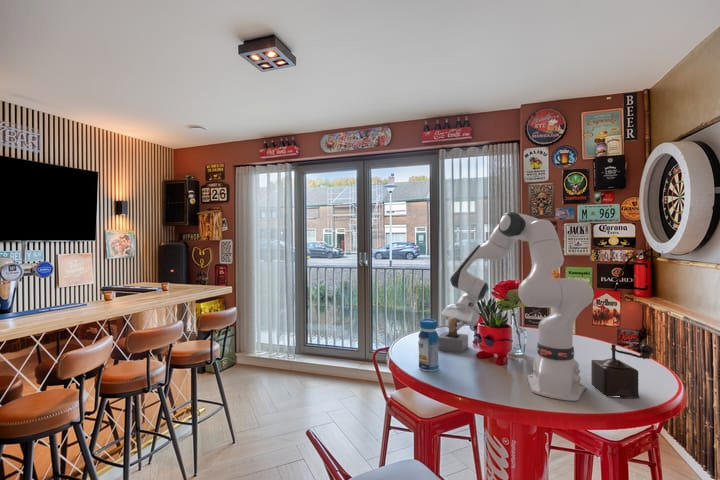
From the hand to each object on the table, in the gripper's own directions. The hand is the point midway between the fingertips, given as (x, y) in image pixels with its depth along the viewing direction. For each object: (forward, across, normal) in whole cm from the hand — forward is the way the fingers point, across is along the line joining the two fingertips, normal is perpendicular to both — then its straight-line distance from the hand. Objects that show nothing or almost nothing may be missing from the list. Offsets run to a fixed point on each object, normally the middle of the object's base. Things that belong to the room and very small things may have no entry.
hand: (452, 328), depth 174 cm
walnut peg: (+5, 0, +6) cm, 7 cm away
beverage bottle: (+28, +14, -14) cm, 34 cm away
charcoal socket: (+6, 0, +7) cm, 10 cm away
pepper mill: (0, +68, +14) cm, 70 cm away
